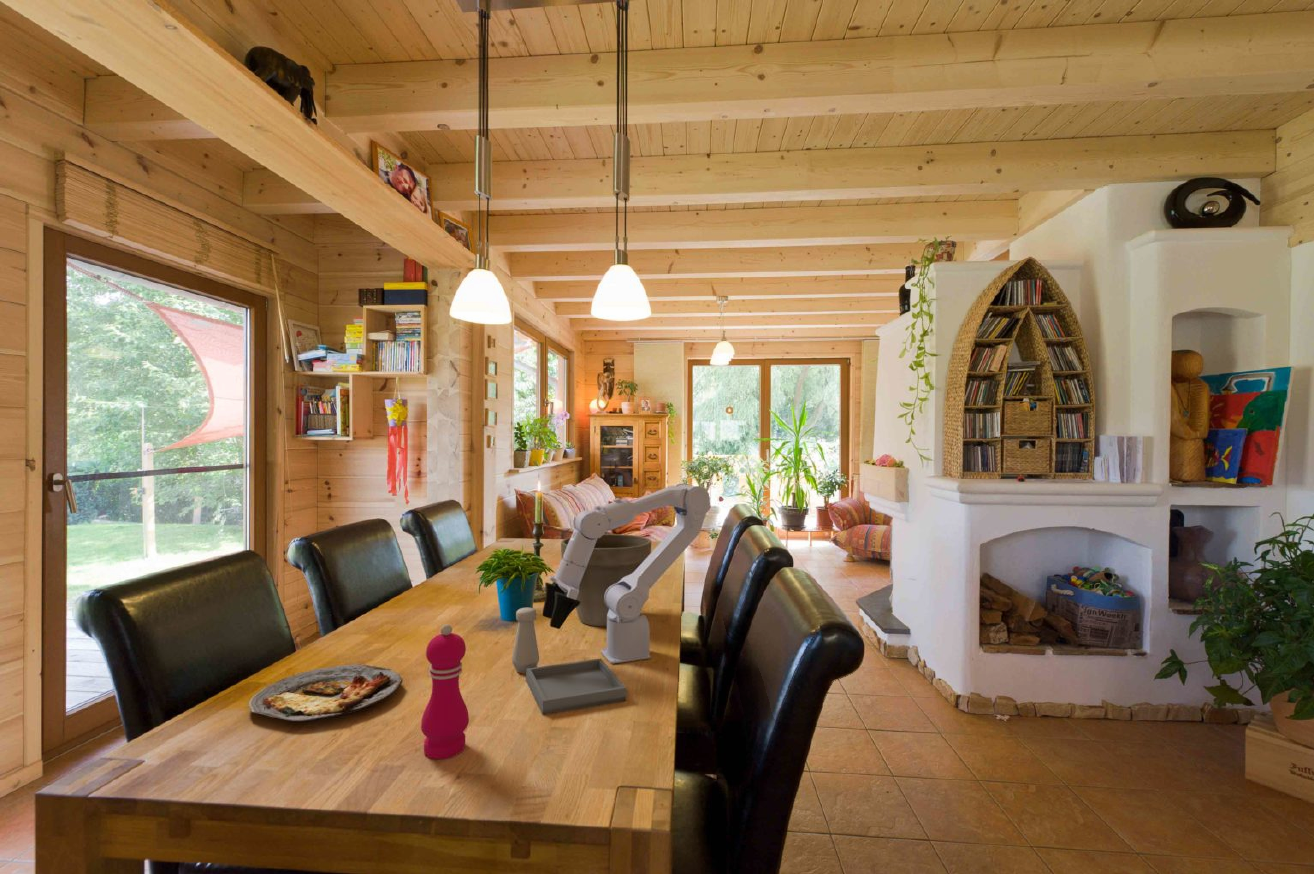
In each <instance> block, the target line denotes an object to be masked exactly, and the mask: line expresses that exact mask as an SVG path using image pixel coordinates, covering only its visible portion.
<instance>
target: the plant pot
mask: <svg viewBox="0 0 1314 874" xmlns="http://www.w3.org/2000/svg"><path fill="white" fill-rule="evenodd" d="M570 538H571V536H569V537H566V538H564V539H563V540H561V542H560V548H561V549H560V550H561V551H560V552H561V553H560V554H561V555H560V556H561V559H562V558H563V555H564V553H565V550H566V548H567V545H568V543H569V540H570ZM651 553H652V540H651V539H650V538H647V537H644V536H639V535H631V534H618V533H617V534H616V533H614V534H613V533H610V534H609V533H608V534H607V533H604V535H603V536H602V537H600V538H598V539H597V541H596V544H595V546H594V549H593V552H592V554H591V557H590V559H589V562H588V564H587V567H586V570H585V572H584V575H583V577H582V580H581V582H580V585H579V594H578V596H577V599H576V600H579V601H580V604H579V606H577V607H576V608H575V609H576V613H577V617H578V619H579V621H580V622H581V623H583V624H585V625H589V626H594V627H607V614H608V611H609V608H608V607H607V606H606V604H605V601H604V595H605V592H606V590H607V589H608V588H609V587H610V586H611V585H613V584H616V583H618V582H619V581H620V580H621V579H622V578H623V577H625V576H628V575H630V574H632V573H633V572H634V571H635V570H636V569H637V568H638V567H639V566H640V565H641V563H642V562H643V561H644V560H645V559H646V558H647V557H648V556H649V555H650V554H651Z"/></svg>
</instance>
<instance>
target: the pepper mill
mask: <svg viewBox="0 0 1314 874" xmlns="http://www.w3.org/2000/svg"><path fill="white" fill-rule="evenodd" d="M466 646H467V645H466V642H465V640H464V639H463V637H462V636H461V635H459V634H456V633H454V632H453V627H452V626H451V625H450V624H448V623H447V624H444V625H442V626H441V627H440V633H439V634H437V635H435V636H433V638H431V639H430V641H429V642H428V643H427V646H426V649H425V656H426V659H427V661H428V662H429V664H430V665H429V667H428V668H429V673H428V676H429V677H430V678H431V684H432V687H431V695H430V698H429V700H428V703H427V705H426V707H425V709H424V711H423V714H422V717H421V723H420V731H421V732H422V734H423V735H424V736H425V738H424V741H423V753H424V755H425V756H426V757H427V758H430V759H434V760H443V759H449V758H452V757H455V756H457V755H459V754H460V753H462V752H463V751H464V750H465V748H466V733H465V730H466V729H467V728H468V725H469V719H470V718H469V711H468V707H467V705H466V701H464V698H463V696H462V693H461V690H460V682H459V681H460V675H461V674H462V673H463V663H462V659H463V658H464V657H465V655H466V650H467V647H466Z"/></svg>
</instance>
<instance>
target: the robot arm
mask: <svg viewBox="0 0 1314 874" xmlns="http://www.w3.org/2000/svg"><path fill="white" fill-rule="evenodd" d="M667 506H669V507H672V508H673V510H674V513H675V517H676V518H675V519H676V525H675V526H674V527H673V529H671V531H669V533H668V534H667V535H666V536H665V538H664V539H663V540H662V541H660V543H659V544H658V545H657V546H656V547H655V548H654V549H653V551H651V554H650V555H649V556H648V557H647V558H646V559H645V560H644V561H643V562H642V563H641V565H640V566H639V567H638V568H637V569H636V570H635V571H634V572H633V573H632V574H630V575H628V576H625V577H623V578H622V579H621V580H620V581H619V582H618V583H616V584H613V585H611V586H610V587H609V588H608V589H607V590H606V592H605V595H604V601H605V604H606V606H607V607H608V608H609V611H608V614H607V626H606V648H605V649H601V650H600V653H601V654H602V655H603V656H604V658H606V659H607V661H608V662H609V663H610V664H618V663H619V664H621V663H625V662H626V663H627V662H634V661H640V660H647V659H651V654H650V642H651V641H650V639H651V638H650V636H651V635H650V634H651V631H650V622H649V620H648V617H647V616H646V615H644V614H641V613H642V610H643V609H644V608H643V607H644V605H645V603H646V602H647V601H648V600H649V597H650V589H651V588H652V587H653V586H654V585H655V584H656V583H657V582H658V580H659V579H660V578H661V577H662V576H663V575H664V573H665V572H666V571H667V570H668V569H669V568H670V567H671V566H672V565H673V564H674V563H675V562H676V561H677V559H678V558H679V557H680V556H681V554H683V552H685V550H686V549H687V548H688V547H689V546H690V544H692V543H693V542H694V541H695V539H696V538H697V537H698V536H699V535H700V533H701V530H702V527H703V525H704V521H705V518H706V516H707V513H708V512H709V511H710V510H711V508H712V507H711V498H710V494H709V492H708V490H707V489H706V488H705V487H703V486H700V485H697V486H696V485H691V484H688V483H683V482H682V483H681V482H680V483H677V484H676V485H670V486H667V487H664V488H662V489H659V490H657V491H654V492H652V493H649V494H647V495H645V496H642V497H640V498H637V499H635V500H631V501H630V500H628V499H625V498H622V499H621V498H619V497H617V498H614V499H613V502H610V503H608V504H605V505H602V506H600V505H596V506H594V507H593V508H594V509H593V510H589V509H586V510H584V509H583V510H582V511H581V512H579V513H578V515H576V517H574V518H573V520H572V521H573V522H572V523H573V525H572V526H573V528H574V529H573V531H572V534H571V536H570V537H571V538H570V537H569V538H570V540H569V543H568V545H567V548H566V550H565V553H564V555H563V558H562V557H561V560H560V563H559V566H558V568H557V570H556V572H555V573H554V575H549V577H548V580H549V581H551V583H550V582H545V583H544V587H545V596H544V603H543V608H542V613H541V615H542V617H543V618H544V617H545V618H548V619H550V622H549V626H550V627H551V628H554V629H557V630H560V629H561V628H562V627H563V625H564V623H565V622H566V621H567V618H568V617H569V616H570V615H571V613H573V611H574V610H575V609H576V607H577V606H579V604H580V601H579V600H576V599H577V596H578V594H579V585H580V582H581V580H582V577H583V575H584V572H585V570H586V567H587V564H588V562H589V559H590V557H591V554H592V552H593V549H594V546H595V544H596V541H597V539H598V538H600V537H602V536H603V535H604V534H606V532H610V531H612V530H614V529H617V528H621V527H622V526H625V525H628V524H631V523H633V522H634V519H636V516H637V515H638V516H639V515H641V514H644V513H648V512H650V511H653V510H657V509H660V508H663V507H667Z"/></svg>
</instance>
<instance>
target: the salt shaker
mask: <svg viewBox="0 0 1314 874" xmlns="http://www.w3.org/2000/svg"><path fill="white" fill-rule="evenodd" d="M515 618H516V621H517V622H518V624H517V628H516V634H515V639H514V645H513V650H512V656H511V661H512V665H513V666H514V668H515V671H516V672H517V673H520V674H526V669H527V668H535V667H537V666H538V663H539V661H540V653H539V646H538V642H537V641H538V640H537V634H536V628H535V623H534V621H535V620H536V619H537V610H536V609H535V608H533V607H521V608H519V609H517V610H516V612H515Z"/></svg>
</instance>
